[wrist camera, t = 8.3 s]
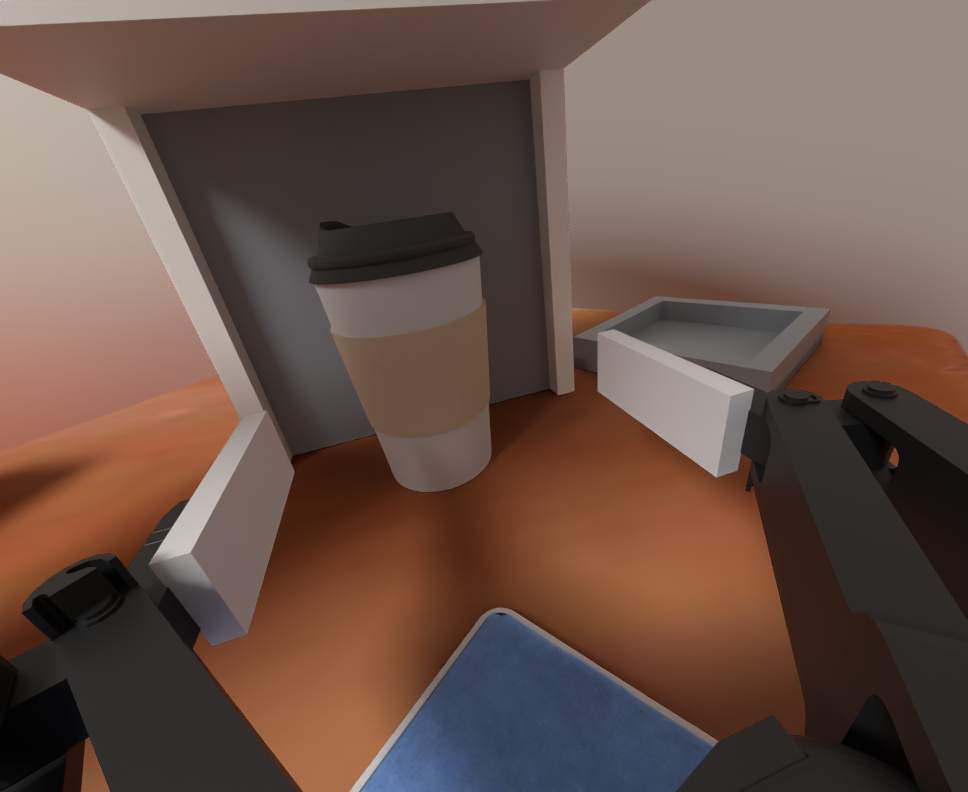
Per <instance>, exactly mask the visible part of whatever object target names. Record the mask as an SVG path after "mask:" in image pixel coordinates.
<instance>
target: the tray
mask: <svg viewBox="0 0 968 792" xmlns="http://www.w3.org/2000/svg"><path fill="white" fill-rule="evenodd" d="M830 310H831V309H828V308H815V307H800V306H786V305H772V304H758V303H744V302H730V301H716V300H702V299H687V298H673V297H659V296H656V297H653V298H651V299H649V300H647V301H645V302H643V303H641V304H639V305H637V306H635V307H633V308H631V309H629V310H627V311H625V312H623V313H621V314H619V315H617V316H615V317H613V318H611V319H609V320H607V321H605V322H603V323H601V324H599V325H597V326H595V327H593V328H590V329H588V330H586V331H584V332H582V333H580V334H578V335H576V336H574V337H573V340H574V367H575V368H579V369H583V370H587V371H591V372H595V373H598V333H600V332H604V331H608V330H613V329H614V330H617V331H619V332H621V333H624V334H626V335H628V336H631V337H633V338H635V339H638V340H640V341H643V342H645V343H647V344H650V345H652V346H654V347H657V348H659V349H661V350H664V351H666V352H668V353H671V354H673V355H675V356H678V357H680V358H682V359H685V360H687V361H689V362H692V363H694V364H696V365H699V366H702V367H707V368H711V369H713V370H715V371H718V372H720V373H722V375H727V376H730V377H732V378H733V380H734V379H737V380H739V381H741V382H744V383H746V384H749V385H751V386H753V387H756V388H758V389H760V390H763V391H765V392H768V393H769V392H770V391H772V390H777V389H784V387H785V386H786V385H787V384H788V383H789V381H790V380H791V379H792V378H793V377H794V375H795V374H796V373H797V372H798V370H799V369H800V368H801V367H802V366H803V364H804V363H805V362H806V361H807V360H808V358H809V357H810V356H811V355H812V354H813V352H814V351H815V350H816V349H817V348H818V346H819V345H820V344H821V343H822V339H823V336H824V332H825V329H826V325H827V321H828V318H829V314H830Z"/></svg>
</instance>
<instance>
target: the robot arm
mask: <svg viewBox="0 0 968 792" xmlns="http://www.w3.org/2000/svg"><path fill="white" fill-rule="evenodd" d="M598 392H599V393H601V394H602V395H603V396H605V397H606V398H608V399H609V400H610V401H612V402H613V403H614V404H616V405H617V406H619V407H620V408H621V409H623V410H624V411H625V412H627V413H628V414H630V415H631V416H632V417H634V418H635V419H636V420H638V421H639V422H641V423H642V424H643V425H645V426H646V427H647V428H649V429H650V430H652V431H653V432H654V433H656V434H657V435H659V436H660V437H661V438H663V439H664V440H665V441H667V442H668V443H670V444H671V445H672V446H674V447H675V448H676V449H678V450H679V451H681V452H682V453H683V454H685V455H686V456H687V457H689V458H690V459H692V460H693V461H694V462H696V463H697V464H698V465H700V466H701V467H703V468H704V469H705V470H707V471H708V472H709V473H711V474H712V475H714V476H715V477H716V478H717V477H720V476H723V475H726V474H729V473H732V472H735V471H738V467H739V462H740V457H741V453H742V454H744V455H745V456H747V457H749V458H750V459H752V463H751V467H750V472H749V476H748V481H747V485H746V491H749V492H750V489H751V487H752V486H754V490H755V494H756V498H757V503H758V507H759V511H760V515H761V520H762V524H763V528H764V532H765V536H766V541H767V545H768V549H769V553H770V557H771V562H772V566H773V570H774V574H775V578H776V583H777V587H778V591H779V595H780V600H781V604H782V608H783V612H784V616H785V621H786V625H787V629H788V633H789V637H790V642H791V646H792V650H793V654H794V658H795V663H796V667H797V671H798V675H799V680H800V684H801V688H802V692H803V696H804V702H805V711H806V720H805V736H796V735H789V734H788V733H787V732H786V731H785V729H784V728H783V727H782V726H781V725H780V723H779V722H778V721H777V720H776V718H775V717H774V716H773V715H772V716H770V717H768V718H766V719H764V720H762V721H760V722H758V723H756V724H754V725H752V726H750V727H748V728H746V729H744V730H742V731H740V732H737V733H735V734H733V735H731V736H729V737H727V738H725V739H723V740H721V741H719V742H717V743H716V745H715V746H714V747H713V748H712V749H711V751H710V752H709V753H708V754H707V755H706V756H705V758H704V759H703V760H702V761H701V762H700V764H699V765H698V766H697V767H696V768H695V769H694V771H693V772H692V773H691V774H690V775H689V777H688V778H687V779H686V780H685V781H684V782H683V784H682V785H681V786H680V787H679V788H678V790H677V791H676V792H968V621H967V620H968V424H966V423H965V422H963V421H961V420H959V419H958V418H956V417H954V416H952V415H951V414H949V413H947V412H945V411H944V410H942V409H940V408H938V407H937V406H935V405H933V404H931V403H930V402H928V401H926V400H924V399H923V398H921V397H919V396H917V395H916V394H914V393H912V392H910V391H908V390H906V389H904V388H901V387H898V386H895V385H891V384H890V383H886V382H880V381H871V382H864V381H862V382H854V383H852V384H849V385H848V386H847V389H846V392H845V395H844V399H842V400H829V401H825V400H824V399H823V398H821V397H820V396H818V395H816V394H813V393H810V392H806V391H803V390H796V389H777V390H772V391H770V392H769V393H768V392H765V391H763V390H760V389H758V388H756V387H753V386H751V385H749V384H746V383H744V382H741V381H739V380H737V379H734V380H733V378H732V377H730V376H727V375H722V373H720V372H718V371H715V370H713V369H711V368H707V367H702V366H699V365H696V364H694V363H692V362H689V361H687V360H685V359H682V358H680V357H678V356H675V355H673V354H671V353H668V352H666V351H664V350H661V349H659V348H657V347H654V346H652V345H650V344H647V343H645V342H643V341H640V340H638V339H635V338H633V337H631V336H628V335H626V334H624V333H621V332H619V331H617V330H614V329H613V330H608V331H604V332H600V333H598ZM894 447H895V448H896V450H897V452H898V455H899V462H898V466H897V467H895V466H894V465H893V464H892V463H890V462H889V459H890V456H891V454H892V452H893V449H894ZM294 473H295V471H294V469H293V467H292V464H291V462H290V460H289V458H288V456H287V453H286V451H285V449H284V447H283V445H282V442H281V440H280V438H279V436H278V434H277V431H276V429H275V427H274V425H273V423H272V420H271V418H270V416H269V414H268V412H267V410H266V411H262V412H258V413H253V414H249V415H245V416H243V418H242V420H241V421H240V423H239V424H238V426H237V427H236V429H235V430H234V432H233V434H232V435H231V437H230V438H229V440H228V441H227V443H226V444H225V446H224V448H223V449H222V451H221V452H220V454H219V455H218V457H217V458H216V460H215V462H214V463H213V465H212V466H211V468H210V469H209V471H208V472H207V474H206V476H205V477H204V479H203V480H202V482H201V483H200V485H199V486H198V488H197V489H196V491H195V493H194V494H193V496H192V497H191V499H189V500H185V501H181V502H180V503H178V504H177V505H176V506H175V507H174V508H173V509H172V510H170V511H169V512H168V513H167V514H166V515H165V516H164V517H163V518H162V520H161V521H160V522H159V524H158V525H157V527H156V528H155V530H154V533H153V534H151V535H150V537H149V538H148V540H147V541H146V543H145V546H143V547H142V548H141V550H140V551H139V553H138V554H137V555H136V557H135V558H134V560H133V561H132V563H131V564H130V565H129V567H128V568H127V569H126V568H125V566H124V565H123V564H122V563H121V562H120V560H119V559H118V558H117V557H116V556H114V555H112V554H110V553H109V554H99V555H95V556H92V557H89V558H86V559H83V560H81V561H79V562H77V563H75V564H73V565H71V566H69V567H67V568H65V569H63V570H62V571H60V572H59V573H57V574H56V575H54V576H52V577H51V578H49V579H48V580H47V581H45V582H44V583H43V584H42V585H41V586H40V587H38V588H37V589H36V590H35V591H34V592H33V593H32V594H31V595H30V596H29V598H28V599H27V600H26V602H25V603H24V604H23V609H22V614H23V615H24V616H25V617H27V618H28V619H29V620H30V621H31V622H32V623H33V624H34V625H35V626H36V627H37V628H39V629H40V630H41V631H42V632H43V633H44V634H45V635H46V636H47V637H48V638H49V639H50V640H49V641H47V642H45V643H43V644H41V645H39V646H37V647H35V648H33V649H31V650H29V651H27V652H25V653H23V654H21V655H19V656H17V657H15V658H13V659H11V660H9V661H7V660H6V659H5V658H3V657H2V656H1V655H0V792H81V785H82V772H83V760H84V748H85V739H86V738H88V737H90V740H91V742H92V745H93V748H94V750H95V753H96V755H97V758H98V761H99V763H100V766H101V768H102V771H103V774H104V776H105V779H106V781H107V784H108V787H109V789H110V792H303V791H302V790H301V789H300V787H299V786H298V785H297V783H296V782H295V781H294V779H293V778H292V777H291V776H290V774H289V773H288V772H287V770H286V769H285V768H284V767H283V765H282V764H281V763H280V761H279V760H278V759H277V757H276V756H275V755H274V754H273V752H272V751H271V750H270V748H269V747H268V746H267V745H266V743H265V742H264V741H263V739H262V738H261V737H260V735H259V734H258V733H257V732H256V730H255V729H254V728H253V726H252V725H251V724H250V723H249V721H248V720H247V719H246V717H245V716H244V715H243V713H242V712H241V711H240V710H239V708H238V707H237V706H236V704H235V703H234V702H233V700H232V699H231V698H230V697H229V695H228V694H227V693H226V691H225V690H224V689H223V688H222V686H221V685H220V684H219V682H218V681H217V680H216V678H215V677H214V676H213V675H212V673H211V672H210V671H209V669H208V668H207V667H206V666H205V664H204V663H203V662H202V660H201V659H200V658H199V656H198V655H197V654H196V653H195V652H194V650H193V647H194V644H195V642H196V639H197V637H198V635H199V632H201V633H202V635H203V636H204V637H205V638H206V640H207V641H208V642H209V644H210V645H211V646H215V645H218V644H221V643H224V642H227V641H230V640H233V639H236V638H239V637H242V636H245V635H247V634H248V631H249V627H250V624H251V620H252V617H253V614H254V610H255V607H256V603H257V600H258V596H259V593H260V590H261V586H262V583H263V579H264V576H265V572H266V569H267V566H268V562H269V559H270V555H271V552H272V548H273V545H274V542H275V538H276V535H277V531H278V528H279V524H280V521H281V518H282V514H283V511H284V507H285V504H286V501H287V497H288V494H289V490H290V487H291V483H292V480H293V477H294ZM966 618H967V619H966Z"/></svg>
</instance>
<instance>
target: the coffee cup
mask: <svg viewBox="0 0 968 792" xmlns="http://www.w3.org/2000/svg"><path fill="white" fill-rule="evenodd" d="M481 254H483V251H482V249H481V248H480V247H479V246H478V244H477V243H476V242H475V234H474V233H473V232H472V231H464V229H463V228H462V226H461V224H460V223H459V221H458V220H457V218H456V217H455V215H454V214H453V212H446V213H439V214H433V215H426V216H420V217H413V218H407V219H400V220H394V221H387V222H381V223H374V224H368V225H362V226H348V225H345V224H343V223H341V222H337V221H328V222H321V223H320V225H319V240H318V252H317V255H316V256H313V257H310V258H309V259H308V261H307V264H308V267H309V268H310V269H311V273H310V277H309V283H310V284H314V285H315V287H316V290H317V292H318V295H319V297H320V299H321V302H322V304H323V307H324V309H325V311H326V314H327V316H328V319H329V321H330V323H331V328H330V332H331V334H332V336H333V339H334V341H335V343H336V346H337V348H338V350H339V352H340V355H341V357H342V359H343V362H344V364H345V366H346V369H347V371H348V373H349V376H350V378H351V380H352V383H353V385H354V387H355V390H356V392H357V394H358V397H359V399H360V401H361V404H362V406H363V408H364V411H365V413H366V415H367V418H368V420H369V422H370V424H371V426H372V427H373V428H374V429H375V432H376V434H377V437H378V439H379V442H380V444H381V446H382V449H383V451H384V454H385V456H386V458H387V461H388V463H389V466H390V468H391V470H392V473H393V475H394V477H395V479H396V481H397V482H398V483H399V484H401V485H402V486H404V487H405V488H408V489H410V490H414V491H419V492H437V491H444V490H448V489H452V488H455V487H458V486H460V485H462V484H465V483H467V482H468V481H470V480H472V479H473V478H475V477H476V476H477V475H479V474H480V473H481V472H482V471H483V470H484V469H485V467H486V466H487V465H488V463H489V461H490V459H491V454H492V449H491V433H490V417H489V400H490V382H489V361H488V340H487V319H486V300H485V299H484V298H483V297H482V289H481V273H480V257H479V256H480V255H481Z"/></svg>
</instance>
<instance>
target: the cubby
mask: <svg viewBox="0 0 968 792" xmlns="http://www.w3.org/2000/svg"><path fill="white" fill-rule="evenodd" d="M650 1H651V0H0V74H3V75H6V76H8V77H10V78H13V79H15V80H17V81H20V82H22V83H25V84H27V85H30V86H32V87H34V88H37V89H39V90H41V91H44V92H46V93H49V94H51V95H53V96H56V97H59V98H61V99H63V100H66V101H68V102H70V103H73V104H75V105H78V106H80V107H83V108H85V109H87V111H88V113H89V115H90V117H91V119H92V121H93V123H94V125H95V127H96V129H97V131H98V133H99V135H100V137H101V139H102V141H103V143H104V145H105V147H106V149H107V151H108V153H109V155H110V157H111V159H112V161H113V163H114V165H115V167H116V169H117V171H118V173H119V175H120V177H121V179H122V182H123V183H124V186H125V188H126V190H127V192H128V194H129V195H130V198H131V199H132V202H133V204H134V206H135V208H136V210H137V212H138V214H139V216H140V218H141V220H142V222H143V224H144V226H145V228H146V230H147V232H148V234H149V236H150V238H151V240H152V242H153V244H154V246H155V248H156V250H157V252H158V254H159V256H160V258H161V260H162V262H163V264H164V266H165V268H166V270H167V272H168V274H169V276H170V278H171V280H172V282H173V284H174V286H175V288H176V290H177V292H178V295H179V296H180V299H181V301H182V303H183V304H184V307H185V309H186V311H187V313H188V315H189V317H190V318H191V321H192V322H193V325H194V327H195V329H196V331H197V333H198V335H199V337H200V339H201V341H202V343H203V345H204V347H205V349H206V351H207V353H208V355H209V357H210V359H211V361H212V363H213V365H214V367H215V369H216V371H217V373H218V375H219V377H220V379H221V381H222V383H223V385H224V387H225V389H226V391H227V393H228V395H229V397H230V399H231V401H232V403H233V405H234V407H235V410H236V412H237V414H238V416H239V418H240V420H242V418H243V416H245V415H249V414H253V413H258V412H262V411H266V410H267V412H268V414H269V416H270V418H271V420H272V423H273V425H274V427H275V429H276V431H277V434H278V436H279V438H280V440H281V442H282V445H283V447H284V449H285V451H286V453H287V456H288V458H289V460H290V462H291V460H292V457H293V456H294V455H298V454H302V453H306V452H309V451H313V450H317V449H321V448H325V447H329V446H332V445H336V444H340V443H344V442H348V441H352V440H355V439H359V438H363V437H367V436H371V435H374V434H376V432H375V429H374V428H373V427H372V426H371V424H370V422H369V420H368V418H367V415H366V413H365V411H364V408H363V406H362V404H361V401H360V399H359V397H358V394H357V392H356V390H355V387H354V385H353V383H352V380H351V378H350V376H349V373H348V371H347V369H346V366H345V364H344V362H343V359H342V357H341V355H340V352H339V350H338V348H337V346H336V343H335V341H334V339H333V336H332V334H331V332H330V328H331V323H330V321H329V319H328V316H327V314H326V311H325V309H324V307H323V304H322V302H321V299H320V297H319V295H318V292H317V290H316V287H315V285H314V284H310V283H309V277H310V273H311V269H310V268H309V267H308V264H307V261H308V259H309V258H310V257H313V256H316V255H317V252H318V240H319V225H320V223H321V222H328V221H337V222H341V223H343V224H345V225H348V226H362V225H368V224H374V223H381V222H387V221H394V220H400V219H407V218H413V217H420V216H426V215H433V214H439V213H446V212H453V214H454V215H455V217H456V218H457V220H458V221H459V223H460V224H461V226H462V228H463V229H464V231H472V232H473V233H474V234H475V242H476V243H477V244H478V246H479V247H480V248H481V249H482V251H483V254H481V255H480V256H479V257H480V273H481V289H482V297H483V298H484V299H485V300H486V319H487V340H488V361H489V382H490V400H489V404H493V403H497V402H501V401H505V400H508V399H512V398H516V397H520V396H524V395H527V394H531V393H535V392H539V391H543V390H547V389H551V390H552V391H553V392H555V393H556V394H557V395H562V394H566V393H569V392H573V391H575V390H574V360H573V331H572V304H571V303H572V301H571V271H570V242H569V216H568V215H569V213H568V182H567V154H566V124H565V95H564V94H565V93H564V68H565V67H566V66H568V65H569V64H570V63H571V62H573V61H574V60H575V59H577V58H578V57H579V56H580V55H582V54H583V53H584V52H586V51H587V50H588V49H589V48H591V47H592V46H593V45H595V44H596V43H597V42H598V41H600V40H601V39H602V38H603V37H605V36H606V35H607V34H608V33H610V32H611V31H612V30H614V29H615V28H616V27H618V26H619V25H620V24H621V23H623V22H624V21H625V20H626V19H628V18H629V17H630V16H632V15H633V14H634V13H635V12H637V11H638V10H639V9H641V8H642V7H643V6H644V5H646V4H647V3H648V2H650Z"/></svg>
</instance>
